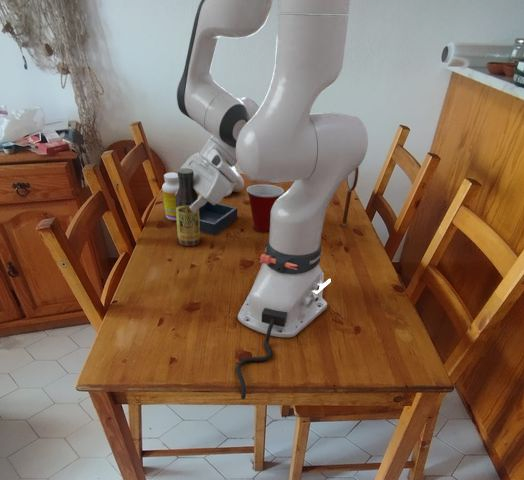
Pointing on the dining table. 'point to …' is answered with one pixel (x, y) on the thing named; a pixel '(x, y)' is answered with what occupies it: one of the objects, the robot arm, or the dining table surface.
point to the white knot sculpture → (236, 185)
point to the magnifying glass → (350, 191)
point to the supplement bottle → (170, 194)
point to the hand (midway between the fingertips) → (184, 203)
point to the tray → (216, 217)
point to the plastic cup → (263, 204)
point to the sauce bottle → (187, 209)
